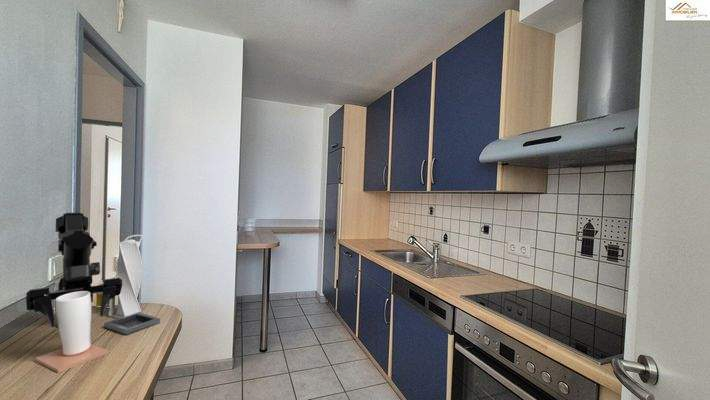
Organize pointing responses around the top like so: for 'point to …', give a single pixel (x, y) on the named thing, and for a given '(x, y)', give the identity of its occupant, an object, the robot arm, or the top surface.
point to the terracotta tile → (69, 358)
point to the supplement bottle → (98, 301)
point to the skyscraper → (128, 279)
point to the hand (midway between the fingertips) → (78, 320)
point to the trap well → (131, 323)
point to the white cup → (74, 321)
